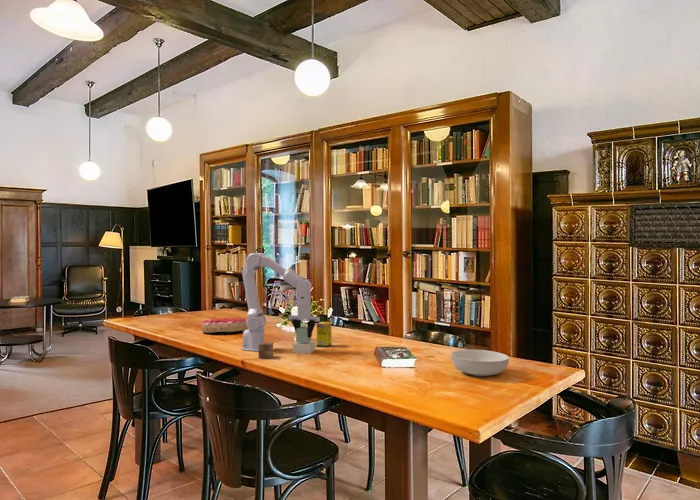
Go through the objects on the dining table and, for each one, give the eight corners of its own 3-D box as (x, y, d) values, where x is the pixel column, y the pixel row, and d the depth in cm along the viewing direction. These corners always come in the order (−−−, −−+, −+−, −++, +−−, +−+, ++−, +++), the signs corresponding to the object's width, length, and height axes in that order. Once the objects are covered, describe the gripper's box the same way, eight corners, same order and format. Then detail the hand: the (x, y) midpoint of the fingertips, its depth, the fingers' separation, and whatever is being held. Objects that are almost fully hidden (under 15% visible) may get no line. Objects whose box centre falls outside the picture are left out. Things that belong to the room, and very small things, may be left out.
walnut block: (258, 358, 210) (258, 344, 210) (261, 356, 215) (261, 342, 215) (270, 358, 210) (270, 344, 210) (273, 356, 215) (273, 342, 215)
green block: (296, 341, 224) (296, 328, 224) (301, 339, 229) (301, 326, 228) (306, 342, 222) (306, 329, 222) (311, 340, 227) (311, 327, 227)
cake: (234, 334, 262) (233, 319, 263) (192, 334, 269) (192, 319, 270) (255, 330, 286) (255, 316, 287) (216, 330, 293) (216, 316, 294)
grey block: (292, 353, 222) (292, 344, 222) (298, 349, 230) (298, 340, 230) (310, 353, 221) (310, 344, 221) (315, 350, 229) (315, 341, 229)
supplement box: (328, 347, 234) (328, 323, 234) (316, 346, 235) (316, 323, 235) (331, 344, 240) (331, 322, 240) (319, 344, 241) (319, 321, 241)
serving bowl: (500, 383, 171) (500, 363, 171) (442, 375, 182) (442, 356, 182) (515, 371, 189) (515, 352, 189) (461, 364, 200) (461, 347, 200)
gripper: (285, 306, 224) (285, 337, 224) (315, 308, 219) (315, 339, 219) (292, 305, 231) (292, 334, 231) (321, 306, 226) (321, 336, 226)
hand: (304, 336), depth 225 cm, fingers closed on green block, 5 cm apart
